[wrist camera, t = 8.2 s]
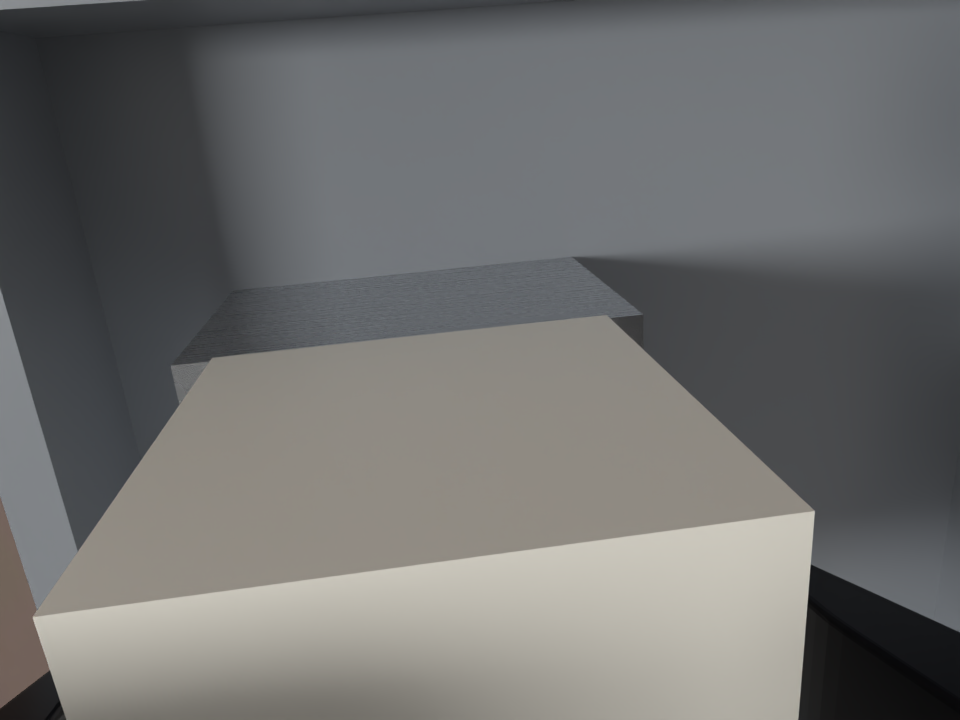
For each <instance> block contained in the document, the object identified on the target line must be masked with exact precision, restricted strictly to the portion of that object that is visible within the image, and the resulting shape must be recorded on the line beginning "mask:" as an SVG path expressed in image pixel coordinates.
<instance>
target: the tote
mask: <svg viewBox="0 0 960 720" xmlns="http://www.w3.org/2000/svg"><path fill="white" fill-rule="evenodd" d="M564 257H572V258H574V259H575V260H576V261H577V262H579V263H580V264H581V265H582V266H584V267H585V268H586V269H587V270H589V271H590V272H591V273H592V274H594V275H595V276H596V277H597V278H599V279H600V280H601V281H602V282H604V283H605V284H606V285H607V286H608V287H610V288H611V289H612V290H613V291H615V292H616V293H617V294H618V295H620V296H621V297H622V298H623V299H625V300H626V301H627V302H628V303H630V304H631V305H632V306H633V307H635V308H636V309H637V310H638V311H640V312H641V313H642V314H643V350H644V351H645V352H646V353H647V354H649V355H650V356H651V357H652V358H653V359H654V360H655V361H656V362H657V363H658V364H659V365H660V366H661V367H662V368H663V369H665V370H666V371H667V372H668V373H669V374H670V375H671V376H672V377H673V378H674V379H675V380H676V381H677V382H678V383H679V384H680V385H682V386H683V387H684V388H685V389H686V390H687V391H688V392H689V393H690V394H691V395H692V396H693V397H694V398H695V399H696V400H697V401H699V402H700V403H701V404H702V405H703V406H704V407H705V408H706V409H707V410H708V411H709V412H710V413H711V414H712V415H713V416H714V417H716V418H717V419H718V420H719V421H720V422H721V423H722V424H723V425H724V426H725V427H726V428H727V429H728V430H729V431H730V432H731V433H733V434H734V435H735V436H736V437H737V438H738V439H739V440H740V441H741V442H742V443H743V444H744V445H745V446H746V447H747V448H748V449H750V450H751V451H752V452H753V453H754V454H755V455H756V456H757V457H758V458H759V459H760V460H761V461H762V462H763V463H764V464H765V465H767V466H768V467H769V468H770V469H771V470H772V471H773V472H774V473H775V474H776V475H777V476H778V477H779V478H780V479H781V480H782V481H784V482H785V483H786V484H787V485H788V486H789V487H790V488H791V489H792V490H793V491H794V492H795V493H796V494H797V495H798V496H799V497H801V498H802V499H803V500H804V501H805V502H806V503H807V504H808V505H809V506H810V507H811V508H812V509H813V510H814V511H815V516H814V529H813V541H812V554H811V565H814V566H816V567H818V568H820V569H822V570H825V571H827V572H829V573H831V574H833V575H836V576H838V577H840V578H842V579H844V580H846V581H849V582H851V583H853V584H855V585H857V586H860V587H862V588H864V589H866V590H868V591H871V592H873V593H875V594H877V595H879V596H882V597H884V598H886V599H888V600H890V601H893V602H895V603H897V604H899V605H901V606H904V607H906V608H908V609H910V610H912V611H915V612H917V613H919V614H921V615H923V616H925V617H928V618H930V619H932V620H934V621H936V622H939V623H941V624H943V625H945V626H947V627H950V628H952V629H954V630H956V631H958V632H960V0H0V497H1V500H2V503H3V506H4V509H5V512H6V515H7V518H8V522H9V525H10V528H11V531H12V534H13V537H14V540H15V543H16V546H17V549H18V552H19V555H20V559H21V562H22V565H23V568H24V571H25V574H26V577H27V580H28V583H29V586H30V589H31V592H32V596H33V599H34V602H35V605H36V608H37V610H38V609H39V607H40V606H41V604H42V603H43V601H44V600H45V598H46V597H47V596H48V594H49V593H50V591H51V590H52V588H53V587H54V585H55V584H56V583H57V581H58V580H59V578H60V577H61V575H62V574H63V572H64V571H65V570H66V568H67V567H68V565H69V564H70V562H71V561H72V559H73V558H74V557H75V555H76V554H77V552H78V551H79V549H80V548H81V546H82V545H83V544H84V542H85V541H86V539H87V538H88V536H89V535H90V533H91V532H92V531H93V529H94V528H95V526H96V525H97V523H98V522H99V520H100V519H101V518H102V516H103V515H104V513H105V512H106V510H107V509H108V507H109V506H110V505H111V503H112V502H113V500H114V499H115V497H116V496H117V494H118V493H119V492H120V490H121V489H122V487H123V486H124V484H125V483H126V481H127V480H128V479H129V477H130V476H131V474H132V473H133V471H134V470H135V468H136V467H137V466H138V464H139V463H140V461H141V460H142V458H143V457H144V455H145V454H146V453H147V451H148V450H149V448H150V447H151V445H152V444H153V442H154V441H155V440H156V438H157V437H158V435H159V434H160V432H161V431H162V429H163V428H164V427H165V425H166V424H167V422H168V421H169V419H170V418H171V416H172V415H173V414H174V412H175V411H176V409H177V408H178V406H179V401H178V397H177V393H176V388H175V384H174V379H173V375H172V370H171V364H172V363H173V362H174V361H175V360H176V358H177V357H178V356H179V355H180V354H181V352H182V351H183V350H184V349H185V348H186V346H187V345H188V344H189V343H190V342H191V340H192V339H193V338H194V337H195V336H196V334H197V333H198V332H199V331H200V330H201V328H202V327H203V326H204V325H205V324H206V322H207V321H208V320H209V319H210V318H211V316H212V315H213V314H214V313H215V312H216V310H217V309H218V308H219V307H220V306H221V304H222V303H223V302H224V301H225V300H226V298H227V297H228V296H229V295H230V294H231V292H232V291H235V290H245V289H255V288H265V287H275V286H285V285H295V284H305V283H315V282H325V281H335V280H345V279H355V278H365V277H375V276H385V275H395V274H405V273H414V272H424V271H434V270H444V269H454V268H464V267H474V266H484V265H494V264H504V263H514V262H524V261H534V260H544V259H554V258H564Z"/></svg>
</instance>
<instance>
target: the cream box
mask: <svg viewBox="0 0 960 720" xmlns="http://www.w3.org/2000/svg"><path fill="white" fill-rule="evenodd" d="M814 516H815V511H814V510H813V509H812V508H811V507H810V506H809V505H808V504H807V503H806V502H805V501H804V500H803V499H802V498H801V497H799V496H798V495H797V494H796V493H795V492H794V491H793V490H792V489H791V488H790V487H789V486H788V485H787V484H786V483H785V482H784V481H782V480H781V479H780V478H779V477H778V476H777V475H776V474H775V473H774V472H773V471H772V470H771V469H770V468H769V467H768V466H767V465H765V464H764V463H763V462H762V461H761V460H760V459H759V458H758V457H757V456H756V455H755V454H754V453H753V452H752V451H751V450H750V449H748V448H747V447H746V446H745V445H744V444H743V443H742V442H741V441H740V440H739V439H738V438H737V437H736V436H735V435H734V434H733V433H731V432H730V431H729V430H728V429H727V428H726V427H725V426H724V425H723V424H722V423H721V422H720V421H719V420H718V419H717V418H716V417H714V416H713V415H712V414H711V413H710V412H709V411H708V410H707V409H706V408H705V407H704V406H703V405H702V404H701V403H700V402H699V401H697V400H696V399H695V398H694V397H693V396H692V395H691V394H690V393H689V392H688V391H687V390H686V389H685V388H684V387H683V386H682V385H680V384H679V383H678V382H677V381H676V380H675V379H674V378H673V377H672V376H671V375H670V374H669V373H668V372H667V371H666V370H665V369H663V368H662V367H661V366H660V365H659V364H658V363H657V362H656V361H655V360H654V359H653V358H652V357H651V356H650V355H649V354H647V353H646V352H645V351H644V350H643V349H642V348H641V347H640V346H639V345H638V344H637V343H636V342H635V341H634V340H633V339H632V338H630V337H629V336H628V335H627V334H626V333H625V332H624V331H623V330H622V329H621V328H620V327H619V326H618V325H617V324H616V323H615V322H613V321H612V320H611V319H610V318H609V317H608V316H607V315H601V316H592V317H583V318H573V319H564V320H555V321H546V322H537V323H527V324H518V325H509V326H500V327H491V328H482V329H472V330H463V331H454V332H445V333H436V334H426V335H417V336H408V337H399V338H390V339H380V340H371V341H362V342H353V343H344V344H335V345H325V346H316V347H307V348H298V349H289V350H279V351H270V352H261V353H252V354H243V355H234V356H224V357H215V358H212V359H211V360H210V361H209V363H208V364H207V366H206V367H205V369H204V370H203V372H202V373H201V374H200V376H199V377H198V379H197V380H196V382H195V383H194V385H193V386H192V387H191V389H190V390H189V392H188V393H187V395H186V396H185V398H184V399H183V401H182V402H181V403H180V405H179V406H178V408H177V409H176V411H175V412H174V414H173V415H172V416H171V418H170V419H169V421H168V422H167V424H166V425H165V427H164V428H163V429H162V431H161V432H160V434H159V435H158V437H157V438H156V440H155V441H154V442H153V444H152V445H151V447H150V448H149V450H148V451H147V453H146V454H145V455H144V457H143V458H142V460H141V461H140V463H139V464H138V466H137V467H136V468H135V470H134V471H133V473H132V474H131V476H130V477H129V479H128V480H127V481H126V483H125V484H124V486H123V487H122V489H121V490H120V492H119V493H118V494H117V496H116V497H115V499H114V500H113V502H112V503H111V505H110V506H109V507H108V509H107V510H106V512H105V513H104V515H103V516H102V518H101V519H100V520H99V522H98V523H97V525H96V526H95V528H94V529H93V531H92V532H91V533H90V535H89V536H88V538H87V539H86V541H85V542H84V544H83V545H82V546H81V548H80V549H79V551H78V552H77V554H76V555H75V557H74V558H73V559H72V561H71V562H70V564H69V565H68V567H67V568H66V570H65V571H64V572H63V574H62V575H61V577H60V578H59V580H58V581H57V583H56V584H55V585H54V587H53V588H52V590H51V591H50V593H49V594H48V596H47V597H46V598H45V600H44V601H43V603H42V604H41V606H40V607H39V609H38V610H37V611H36V613H35V614H34V616H33V620H34V623H35V626H36V629H37V632H38V635H39V638H40V641H41V644H42V647H43V650H44V653H45V656H46V659H47V663H48V666H49V669H50V672H51V675H52V678H53V681H54V684H55V687H56V690H57V693H58V696H59V699H60V702H61V705H62V708H63V711H64V714H65V717H66V720H798V717H799V704H800V692H801V679H802V667H803V654H804V642H805V629H806V617H807V604H808V591H809V579H810V566H811V554H812V541H813V529H814Z"/></svg>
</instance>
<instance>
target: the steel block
mask: <svg viewBox="0 0 960 720" xmlns="http://www.w3.org/2000/svg"><path fill="white" fill-rule="evenodd" d="M601 315H607V316H608V317H609V318H610V319H611V320H612V321H613V322H615V323H616V324H617V325H618V326H619V327H620V328H621V329H622V330H623V331H624V332H625V333H626V334H627V335H628V336H629V337H630V338H632V339H633V340H634V341H635V342H636V343H637V344H638V345H639V346H640V347H641V348H642V349H643V314H642V313H641V312H640V311H638V310H637V309H636V308H635V307H633V306H632V305H631V304H630V303H628V302H627V301H626V300H625V299H623V298H622V297H621V296H620V295H618V294H617V293H616V292H615V291H613V290H612V289H611V288H610V287H608V286H607V285H606V284H605V283H604V282H602V281H601V280H600V279H599V278H597V277H596V276H595V275H594V274H592V273H591V272H590V271H589V270H587V269H586V268H585V267H584V266H582V265H581V264H580V263H579V262H577V261H576V260H575V259H574V258H572V257H564V258H554V259H544V260H534V261H524V262H514V263H504V264H494V265H484V266H474V267H464V268H454V269H444V270H434V271H424V272H414V273H405V274H395V275H385V276H375V277H365V278H355V279H345V280H335V281H325V282H315V283H305V284H295V285H285V286H275V287H265V288H255V289H245V290H235V291H232V292H231V294H230V295H229V296H228V297H227V298H226V300H225V301H224V302H223V303H222V304H221V306H220V307H219V308H218V309H217V310H216V312H215V313H214V314H213V315H212V316H211V318H210V319H209V320H208V321H207V322H206V324H205V325H204V326H203V327H202V328H201V330H200V331H199V332H198V333H197V334H196V336H195V337H194V338H193V339H192V340H191V342H190V343H189V344H188V345H187V346H186V348H185V349H184V350H183V351H182V352H181V354H180V355H179V356H178V357H177V358H176V360H175V361H174V362H173V363H172V364H171V370H172V375H173V379H174V384H175V388H176V393H177V397H178V401H179V405H180V403H181V402H182V401H183V399H184V398H185V396H186V395H187V393H188V392H189V390H190V389H191V387H192V386H193V385H194V383H195V382H196V380H197V379H198V377H199V376H200V374H201V373H202V372H203V370H204V369H205V367H206V366H207V364H208V363H209V361H210V360H211V359H212V358H215V357H224V356H234V355H243V354H252V353H261V352H270V351H279V350H289V349H298V348H307V347H316V346H325V345H335V344H344V343H353V342H362V341H371V340H380V339H390V338H399V337H408V336H417V335H426V334H436V333H445V332H454V331H463V330H472V329H482V328H491V327H500V326H509V325H518V324H527V323H537V322H546V321H555V320H564V319H573V318H583V317H592V316H601Z"/></svg>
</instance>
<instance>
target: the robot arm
mask: <svg viewBox="0 0 960 720" xmlns="http://www.w3.org/2000/svg"><path fill="white" fill-rule="evenodd" d="M0 720H66V717H65V714H64V711H63V708H62V705H61V702H60V699H59V696H58V693H57V690H56V687H55V684H54V681H53V678H52V675H51V672H50V671H48V672H47V673H46V674H44V675H43V676H42V677H41V678H39V679H38V680H37V681H35V682H34V683H33V684H32V685H30V686H29V687H28V688H26V689H25V690H24V691H22V692H21V693H20V694H19V695H17V696H16V697H15V698H13V699H12V700H11V701H10V702H8V703H7V704H6V705H4V706H3V707H2V708H0ZM798 720H960V632H958V631H956V630H954V629H952V628H950V627H947V626H945V625H943V624H941V623H939V622H936V621H934V620H932V619H930V618H928V617H925V616H923V615H921V614H919V613H917V612H915V611H912V610H910V609H908V608H906V607H904V606H901V605H899V604H897V603H895V602H893V601H890V600H888V599H886V598H884V597H882V596H879V595H877V594H875V593H873V592H871V591H868V590H866V589H864V588H862V587H860V586H857V585H855V584H853V583H851V582H849V581H846V580H844V579H842V578H840V577H838V576H836V575H833V574H831V573H829V572H827V571H825V570H822V569H820V568H818V567H816V566H814V565H811V566H810V579H809V591H808V604H807V617H806V629H805V642H804V654H803V667H802V679H801V692H800V704H799V717H798Z"/></svg>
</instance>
